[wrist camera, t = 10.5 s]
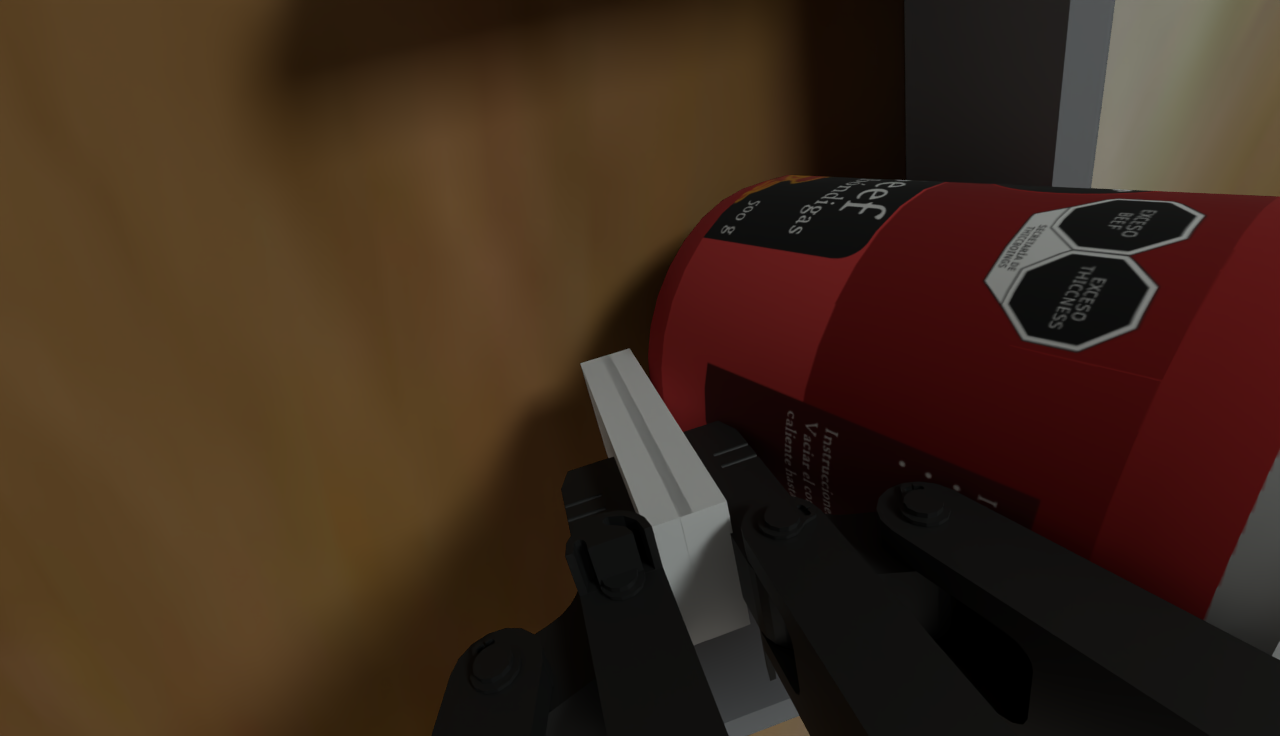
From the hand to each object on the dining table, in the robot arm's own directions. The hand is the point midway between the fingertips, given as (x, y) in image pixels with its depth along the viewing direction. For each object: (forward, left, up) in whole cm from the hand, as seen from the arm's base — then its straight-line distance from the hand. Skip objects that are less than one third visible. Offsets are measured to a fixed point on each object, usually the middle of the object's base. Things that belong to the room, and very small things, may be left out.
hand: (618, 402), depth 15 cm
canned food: (-1, +4, -1) cm, 4 cm away
